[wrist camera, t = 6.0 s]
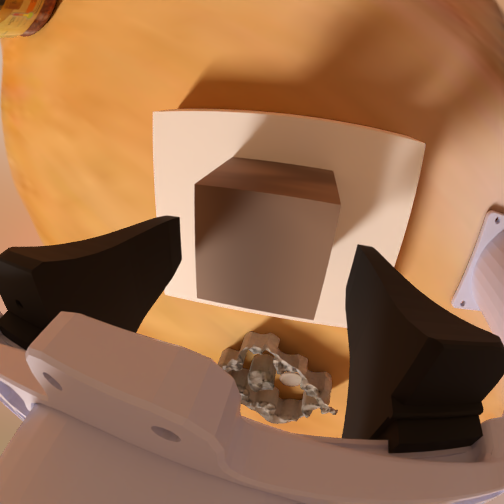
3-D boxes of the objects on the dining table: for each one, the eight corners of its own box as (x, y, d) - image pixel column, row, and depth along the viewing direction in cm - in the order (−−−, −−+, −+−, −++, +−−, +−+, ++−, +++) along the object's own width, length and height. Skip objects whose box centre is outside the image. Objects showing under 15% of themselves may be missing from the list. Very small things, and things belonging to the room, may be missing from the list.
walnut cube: (333, 170, 13) (341, 205, 9) (316, 259, 16) (313, 320, 12) (232, 157, 14) (194, 184, 10) (228, 244, 17) (196, 298, 12)
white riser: (408, 136, 14) (425, 143, 12) (365, 302, 20) (369, 330, 18) (177, 108, 16) (152, 111, 14) (181, 271, 22) (164, 294, 20)
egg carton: (343, 380, 25) (343, 415, 22) (286, 404, 29) (281, 435, 25) (265, 317, 23) (255, 355, 20) (210, 352, 27) (197, 385, 23)
